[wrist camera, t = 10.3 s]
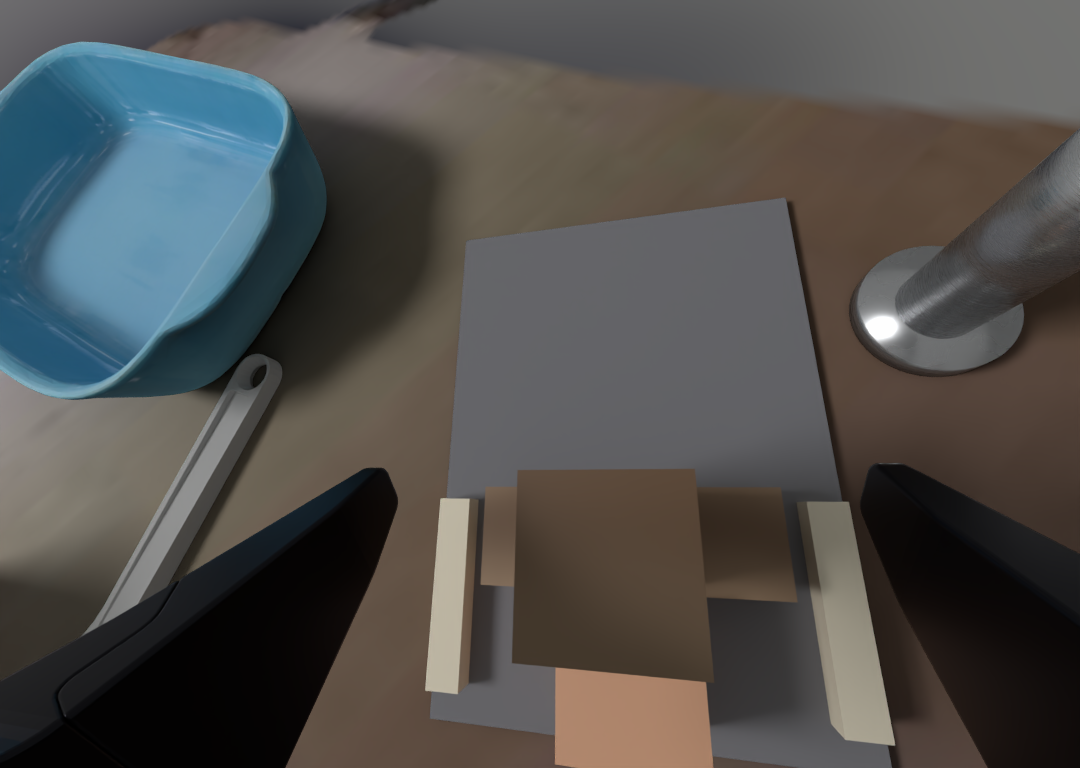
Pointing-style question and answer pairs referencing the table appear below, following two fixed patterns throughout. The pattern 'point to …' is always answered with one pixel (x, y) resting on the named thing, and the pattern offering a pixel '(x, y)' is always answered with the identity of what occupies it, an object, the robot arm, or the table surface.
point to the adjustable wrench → (194, 487)
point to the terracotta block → (630, 721)
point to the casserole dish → (145, 219)
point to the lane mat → (660, 462)
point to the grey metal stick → (974, 277)
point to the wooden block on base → (629, 565)
